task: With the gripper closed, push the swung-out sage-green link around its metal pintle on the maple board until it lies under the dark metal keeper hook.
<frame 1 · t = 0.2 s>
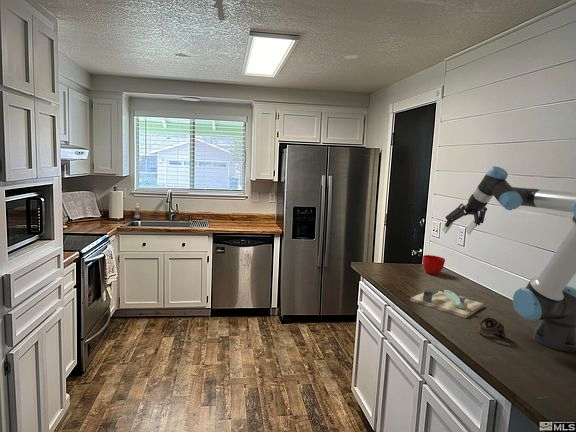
hand: (455, 231, 195), 35 cm above the table, tool tilted 35°, fingers open, 13 cm apart
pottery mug: (490, 335, 162), on the table
keeper: (429, 302, 196), resting on base board
link: (454, 299, 195), point 3 cm above the table, hinge at -50.0°
ceramic cup: (432, 272, 256), on the table
base board: (446, 303, 196), on the table
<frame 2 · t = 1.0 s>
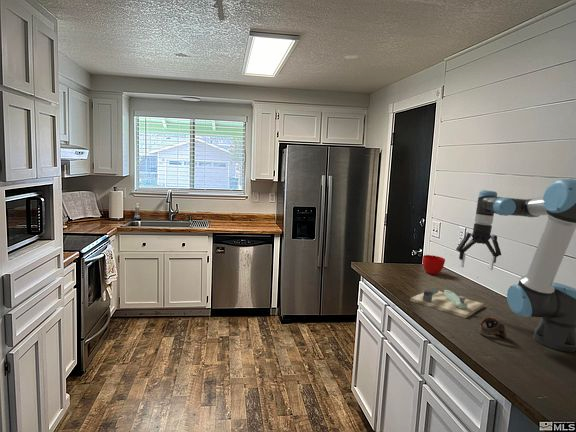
hand: (475, 268, 193), 19 cm above the table, tool pointing down, fingers open, 13 cm apart
nothing on the table moved.
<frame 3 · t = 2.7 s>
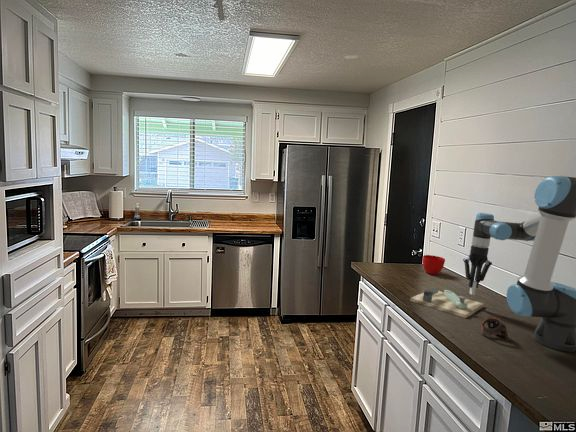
hand: (472, 294, 195), 6 cm above the table, tool pointing down, fingers closed
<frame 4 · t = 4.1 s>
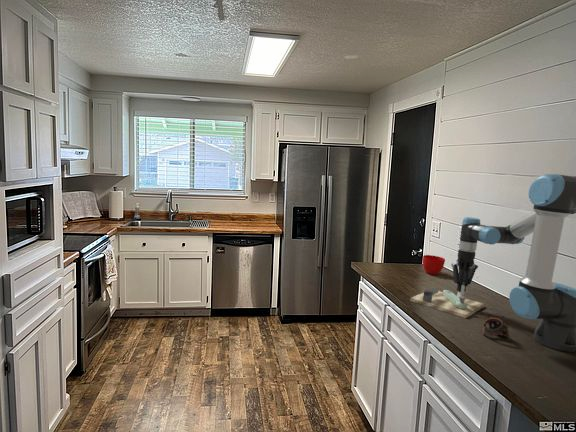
hand: (459, 298, 196), 3 cm above the table, tool pointing down, fingers closed
link: (454, 299, 195), point 3 cm above the table, hinge at -47.8°, touching gripper
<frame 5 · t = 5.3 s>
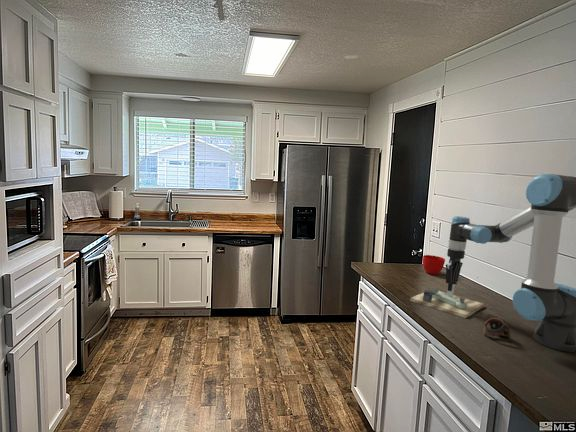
hand: (449, 296, 196), 3 cm above the table, tool pointing down, fingers closed
link: (446, 299, 194), point 3 cm above the table, hinge at -17.1°, touching gripper
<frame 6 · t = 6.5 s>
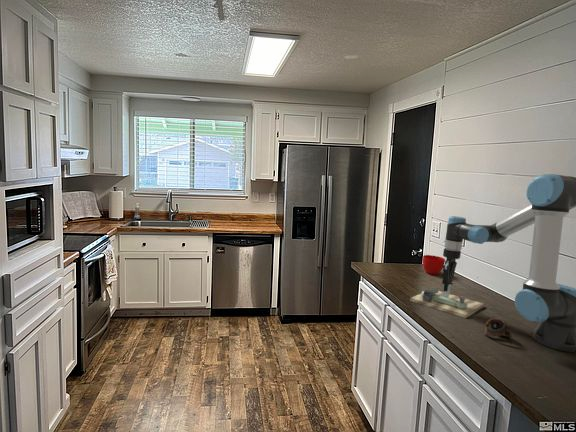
hand: (445, 297, 195), 3 cm above the table, tool pointing down, fingers closed
link: (443, 299, 193), point 3 cm above the table, hinge at 0.2°, touching gripper
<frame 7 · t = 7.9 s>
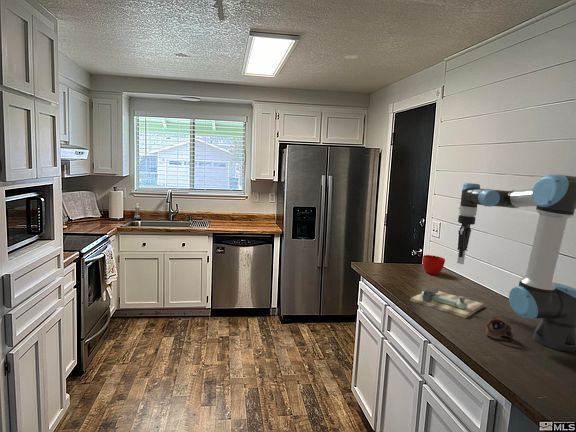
hand: (460, 263, 198), 19 cm above the table, tool pointing down, fingers closed
link: (443, 299, 193), point 3 cm above the table, hinge at 0.3°
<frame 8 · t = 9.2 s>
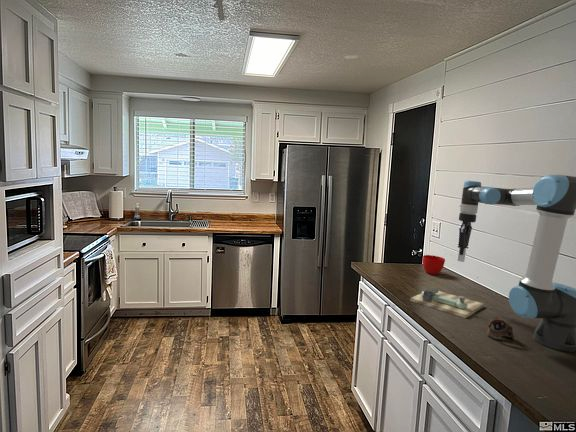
hand: (460, 261, 198), 20 cm above the table, tool pointing down, fingers closed
at the end: link at +0° (first picture: -50°) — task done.
